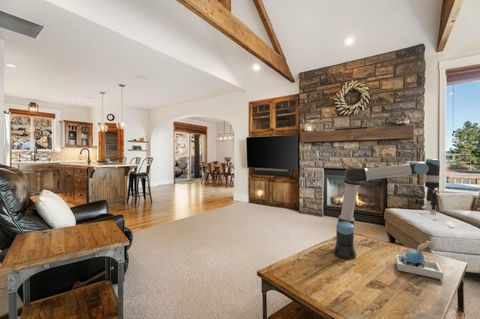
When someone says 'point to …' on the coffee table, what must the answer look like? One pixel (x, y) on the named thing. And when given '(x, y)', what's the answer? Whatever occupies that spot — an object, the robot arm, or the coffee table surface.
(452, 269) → the coffee table surface
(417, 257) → the toy excavator
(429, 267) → the white tray
